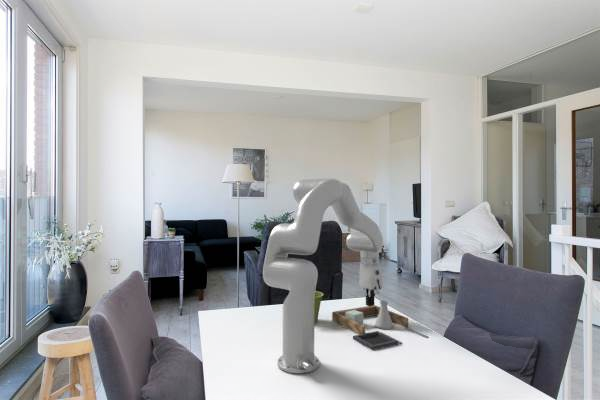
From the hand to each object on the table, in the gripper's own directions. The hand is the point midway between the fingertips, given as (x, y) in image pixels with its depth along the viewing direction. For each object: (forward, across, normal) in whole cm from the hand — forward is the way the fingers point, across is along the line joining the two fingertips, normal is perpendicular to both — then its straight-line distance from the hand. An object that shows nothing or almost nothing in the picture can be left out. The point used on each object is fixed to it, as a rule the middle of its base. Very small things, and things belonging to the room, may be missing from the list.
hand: (370, 305), depth 155 cm
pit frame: (+6, -20, +14) cm, 25 cm away
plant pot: (+6, +10, +24) cm, 26 cm away
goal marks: (+6, -20, +1) cm, 21 cm away
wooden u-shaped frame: (+6, -4, +4) cm, 8 cm away
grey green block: (+6, -2, +10) cm, 12 cm away
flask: (+6, -9, +1) cm, 11 cm away
